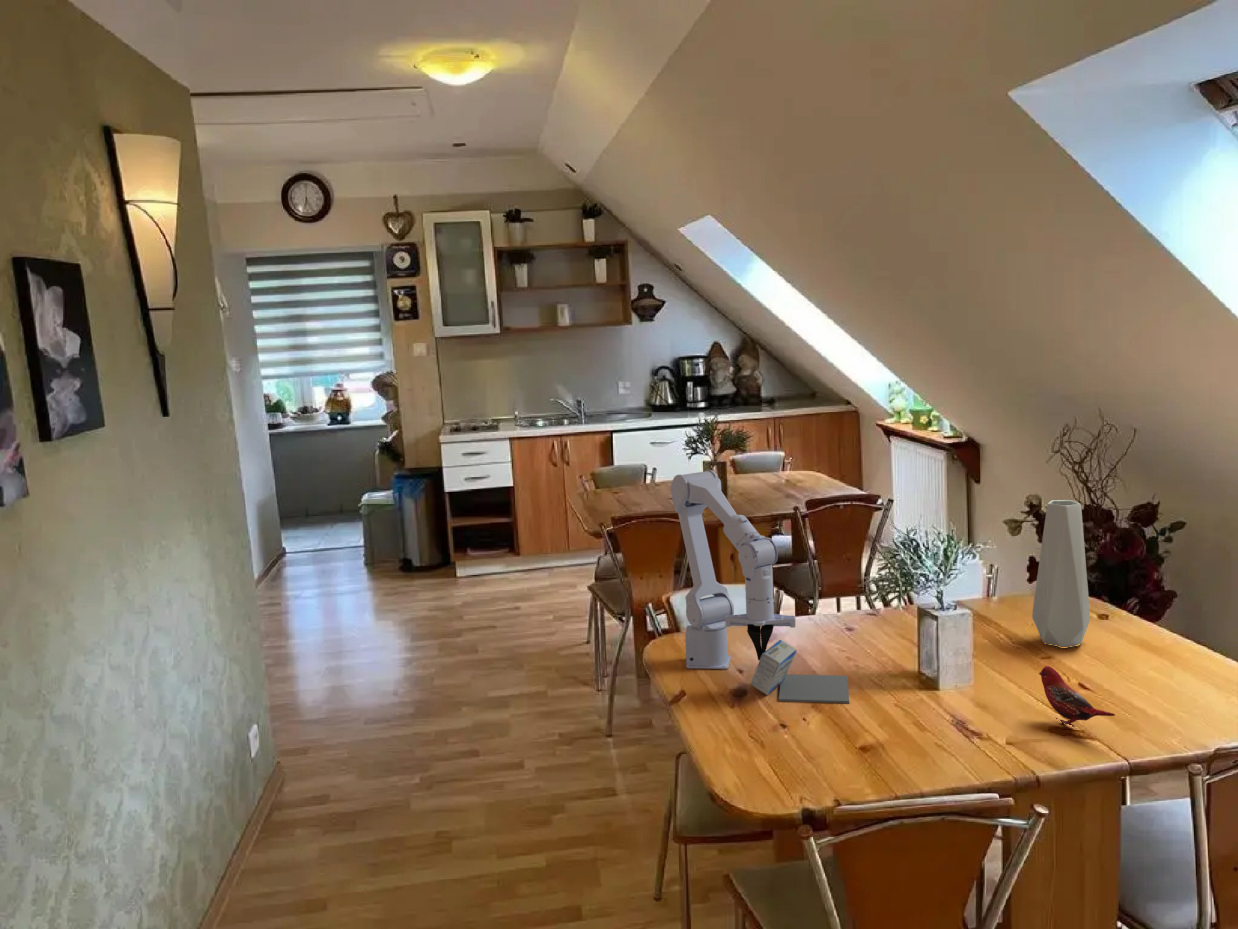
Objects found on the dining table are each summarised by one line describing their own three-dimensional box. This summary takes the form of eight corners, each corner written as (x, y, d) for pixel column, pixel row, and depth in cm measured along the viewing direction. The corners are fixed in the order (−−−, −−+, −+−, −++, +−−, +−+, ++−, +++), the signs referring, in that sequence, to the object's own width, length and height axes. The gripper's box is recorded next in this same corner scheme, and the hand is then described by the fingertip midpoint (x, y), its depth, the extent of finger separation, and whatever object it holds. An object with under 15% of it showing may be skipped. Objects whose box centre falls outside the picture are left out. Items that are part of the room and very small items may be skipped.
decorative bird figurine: (1044, 710, 185) (1044, 661, 184) (1120, 746, 169) (1122, 692, 167) (1032, 713, 184) (1032, 663, 183) (1108, 750, 168) (1109, 695, 166)
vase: (1038, 631, 229) (1039, 496, 225) (1091, 639, 223) (1094, 499, 218) (1025, 647, 220) (1026, 505, 215) (1081, 655, 213) (1083, 509, 208)
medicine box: (766, 696, 199) (780, 664, 195) (749, 684, 201) (762, 652, 197) (784, 681, 205) (797, 649, 202) (766, 669, 207) (779, 638, 204)
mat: (778, 701, 196) (778, 699, 196) (781, 676, 210) (781, 674, 210) (849, 703, 193) (849, 701, 193) (847, 677, 207) (847, 675, 207)
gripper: (722, 601, 199) (725, 664, 201) (794, 602, 196) (795, 666, 198) (726, 592, 206) (728, 653, 207) (795, 592, 202) (796, 654, 204)
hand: (761, 659), depth 203 cm, fingers closed
